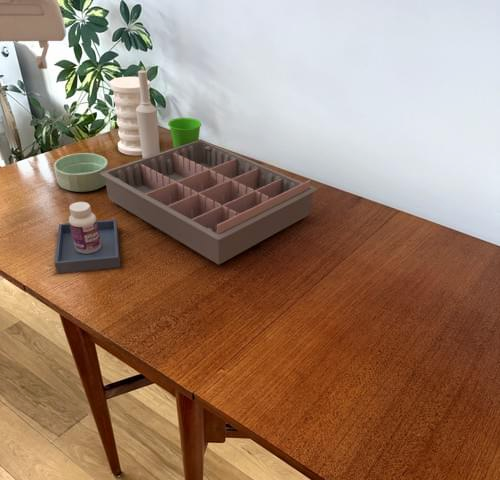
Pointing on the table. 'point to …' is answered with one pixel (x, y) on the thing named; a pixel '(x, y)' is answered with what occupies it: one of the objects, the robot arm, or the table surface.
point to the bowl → (81, 172)
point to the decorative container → (127, 113)
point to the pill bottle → (84, 228)
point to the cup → (184, 130)
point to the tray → (101, 259)
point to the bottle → (147, 120)
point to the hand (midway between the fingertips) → (16, 68)
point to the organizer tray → (209, 197)
